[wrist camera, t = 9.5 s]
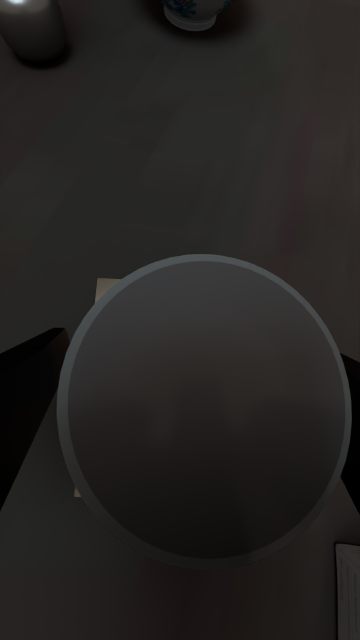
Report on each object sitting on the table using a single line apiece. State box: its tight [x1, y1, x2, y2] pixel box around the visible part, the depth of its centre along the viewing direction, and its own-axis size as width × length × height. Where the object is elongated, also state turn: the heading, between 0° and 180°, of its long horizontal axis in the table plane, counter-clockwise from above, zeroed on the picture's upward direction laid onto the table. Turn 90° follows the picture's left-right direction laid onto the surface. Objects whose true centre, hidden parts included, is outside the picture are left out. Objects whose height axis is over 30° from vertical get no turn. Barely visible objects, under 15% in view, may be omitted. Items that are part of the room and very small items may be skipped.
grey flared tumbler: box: [57, 254, 352, 571], centre depth 10 cm, size 5×5×13 cm
